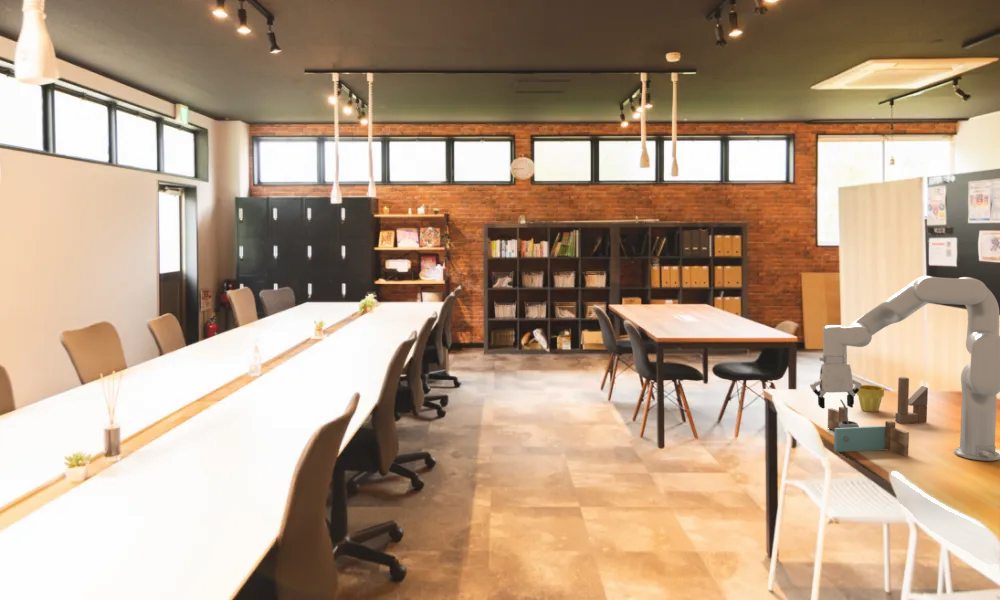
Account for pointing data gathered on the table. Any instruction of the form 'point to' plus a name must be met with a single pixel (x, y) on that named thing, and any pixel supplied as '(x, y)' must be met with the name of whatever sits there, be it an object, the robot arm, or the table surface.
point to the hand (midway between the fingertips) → (835, 407)
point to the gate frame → (893, 436)
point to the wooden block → (911, 403)
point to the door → (859, 438)
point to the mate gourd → (847, 423)
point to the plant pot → (870, 397)
